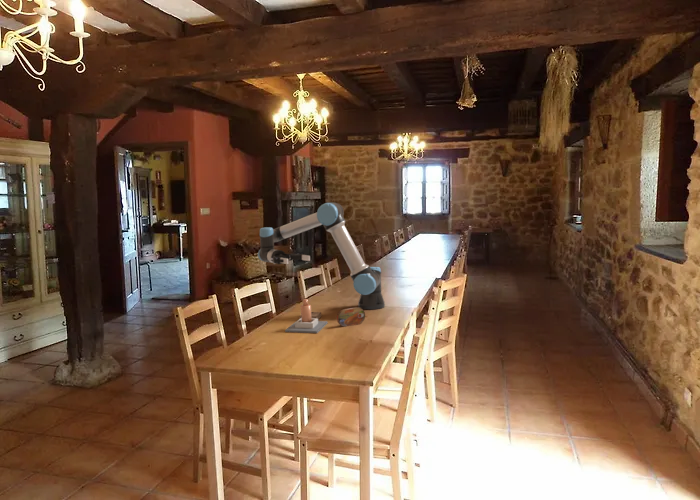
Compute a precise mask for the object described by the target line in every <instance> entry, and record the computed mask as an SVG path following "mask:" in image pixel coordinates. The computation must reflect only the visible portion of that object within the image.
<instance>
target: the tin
mask: <svg viewBox="0 0 700 500" xmlns="http://www.w3.org/2000/svg"><path fill="white" fill-rule="evenodd" d="M365 319H366V312H365V309H361V308H359V307H350V308H344V309H341V310H339V311H338V313H337V315H336V321H337V324H338V325H340V326H342V327H345V328H346V327H349V326H350V327H351V326H357V325H361V324H362V323H363V322H364V321H365Z"/></svg>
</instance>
